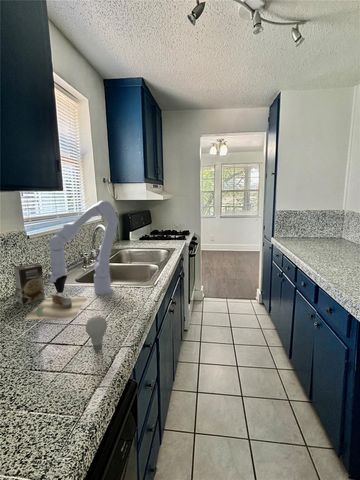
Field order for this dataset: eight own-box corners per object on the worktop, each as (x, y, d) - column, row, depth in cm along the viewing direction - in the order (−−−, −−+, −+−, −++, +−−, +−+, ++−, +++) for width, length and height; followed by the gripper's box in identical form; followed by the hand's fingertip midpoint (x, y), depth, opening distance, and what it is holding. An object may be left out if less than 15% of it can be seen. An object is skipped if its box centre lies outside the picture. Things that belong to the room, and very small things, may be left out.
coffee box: (23, 307, 105) (19, 270, 103) (17, 303, 109) (13, 267, 107) (45, 300, 113) (42, 265, 110) (38, 296, 116) (35, 262, 114)
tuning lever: (73, 305, 105) (73, 298, 104) (65, 308, 101) (65, 301, 101) (56, 299, 110) (55, 293, 110) (48, 302, 107) (47, 296, 107)
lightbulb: (100, 342, 81) (99, 310, 79) (112, 349, 77) (110, 316, 75) (83, 351, 76) (81, 317, 74) (94, 359, 72) (92, 324, 70)
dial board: (47, 300, 113) (46, 297, 113) (88, 298, 114) (88, 296, 114) (24, 321, 93) (23, 318, 93) (74, 320, 95) (74, 317, 95)
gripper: (55, 259, 117) (57, 286, 119) (41, 267, 103) (43, 299, 105) (70, 258, 118) (72, 286, 120) (59, 267, 104) (61, 298, 106)
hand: (60, 292), depth 113 cm, fingers closed
